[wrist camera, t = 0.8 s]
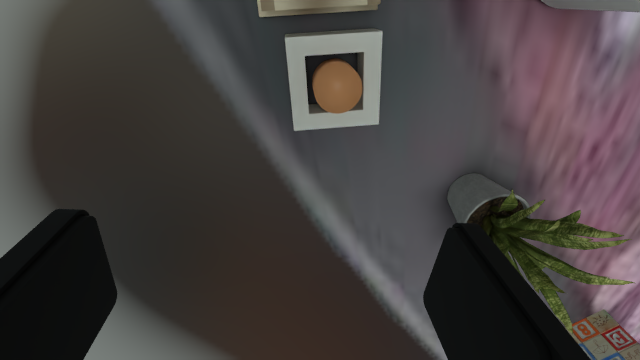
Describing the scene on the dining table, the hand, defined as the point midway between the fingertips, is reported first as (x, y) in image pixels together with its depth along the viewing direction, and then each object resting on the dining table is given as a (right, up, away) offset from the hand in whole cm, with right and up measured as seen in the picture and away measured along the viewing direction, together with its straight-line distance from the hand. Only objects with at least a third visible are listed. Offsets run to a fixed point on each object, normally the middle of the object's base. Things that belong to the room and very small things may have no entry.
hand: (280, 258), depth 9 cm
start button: (+2, +11, +20) cm, 23 cm away
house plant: (+19, 0, +31) cm, 36 cm away
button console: (+2, +12, +22) cm, 25 cm away
